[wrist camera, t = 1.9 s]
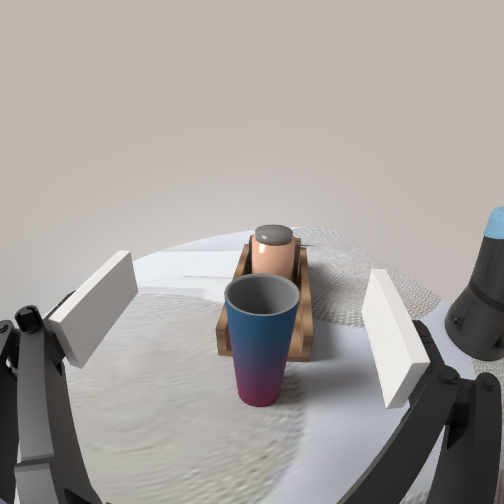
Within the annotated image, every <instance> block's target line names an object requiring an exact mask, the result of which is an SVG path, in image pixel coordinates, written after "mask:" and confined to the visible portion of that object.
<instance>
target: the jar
mask: <svg viewBox="0 0 504 504" xmlns="http://www.w3.org/2000/svg"><path fill="white" fill-rule="evenodd" d="M294 251H295V237H294V236H293V231H292V230H291V229H290V228H288V227H285V226H281V225H264V226H260V227H258V228H257V229H256V230H255V234H254V235H253V237H252V274H254V273H268V274H274V275H278V276H282V277H284V278H286V279H288V280H290V281H291V282H292V275H293V263H294Z"/></svg>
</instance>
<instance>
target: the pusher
mask: <svg viewBox="0 0 504 504" xmlns="http://www.w3.org/2000/svg"><path fill="white" fill-rule="evenodd" d="M299 252H300V242H295V251H294V263H293V275H292V278H297V274H298V263H299ZM249 274H252V240H251V239H250V240H249Z"/></svg>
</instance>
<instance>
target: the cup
mask: <svg viewBox="0 0 504 504" xmlns="http://www.w3.org/2000/svg"><path fill="white" fill-rule="evenodd" d="M224 295H225V303H226V311H227V318H228V326H229V333H230V340H231V347H232V354H233V361H234V368H235V374H236V381H237V387H238V393H239V396H240V398H241V399H242V400H243V401H244V402H245V403H246V404H248V405H251V406H255V407H263V406H267V405H269V404H271V403H273V402H274V401H275V400H276V399H277V397H278V395H279V391H280V387H281V383H282V378H283V374H284V370H285V366H286V361H287V357H288V352H289V348H290V343H291V339H292V334H293V329H294V324H295V320H296V315H297V310H298V305H299V300H300V291H299V289H298V287H297V286H296V285H295V284H294V283H293V282H291V281H290V280H288V279H286V278H284V277H282V276H278V275H274V274H268V273H254V274H248V275H244V276H241V277H238V278H236V279H235V280H233V281H231V282H230V283H229V284H228V285H227V287H226V289H225V292H224Z"/></svg>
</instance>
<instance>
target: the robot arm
mask: <svg viewBox="0 0 504 504" xmlns="http://www.w3.org/2000/svg"><path fill="white" fill-rule="evenodd" d="M137 293H138V289H137V284H136V279H135V274H134V269H133V264H132V258H131V253H130V251H120V250H119V251H118V252H117V253H116V254H115V255H114V256H113V257H112V258H110V259H109V260H108V261H107V262H106V263H105V264H104V265H103V266H102V267H101V268H99V269H98V270H97V271H96V272H95V273H94V274H93V275H92V276H91V277H90V278H89V279H88V280H87V281H86V282H84V283H83V284H82V285H81V286H80V287H79V288H78V289H77V290H75V291H73V292H72V293H70V294H68V295H67V296H66V297H65V298H64V299H63V300H62V302H60V303H59V304H58V306H56V307H55V308H54V309H53V310H52V311H51V312H50V313H49V314H48V315H47V316H46V317H45V318H44V319H43V320H42V318H41V315H40V313H39V311H38V308H37V307H36V306H33V305H30V306H26V307H23V308H21V309H20V310H19V311H18V312H17V313H16V314H15V319H16V321H17V323H18V326H19V328H20V329H15V327H14V325H13V323H12V322H11V321H10V320H4V321H0V504H14V499H15V488H16V485H17V490H18V495H19V500H20V504H102V502H101V500H100V498H99V496H98V495H97V494H96V492H95V491H94V489H93V488H92V486H91V484H90V481H89V478H88V475H87V472H86V469H85V465H84V462H83V459H82V455H81V451H80V448H79V444H78V440H77V436H76V431H75V427H74V422H73V417H72V412H71V407H70V401H69V395H68V389H67V382H66V374H65V366H64V363H63V361H62V360H63V358H64V357H65V356H66V358H67V360H68V361H69V363H70V365H73V366H75V367H78V368H81V369H82V368H83V366H84V365H85V364H86V362H87V361H88V359H89V358H90V356H91V355H92V354H93V352H94V351H95V349H96V348H97V347H98V345H99V344H100V342H101V341H102V340H103V338H104V337H105V335H106V334H107V333H108V331H109V330H110V329H111V327H112V326H113V325H114V323H115V322H116V321H117V319H118V318H119V317H120V315H121V314H122V313H123V311H124V310H125V309H126V307H127V306H128V305H129V303H130V302H131V301H132V300H133V298H134V297H135V296H136V294H137ZM361 313H362V316H363V319H364V323H365V326H366V330H367V333H368V337H369V340H370V344H371V348H372V351H373V355H374V359H375V363H376V367H377V371H378V375H379V379H380V383H381V388H382V392H383V396H384V401H385V406H386V409H390V408H400V407H403V406H404V404H405V403H406V401H407V400H408V399H409V403H410V408H409V409H408V411H407V412H406V413H405V415H404V416H403V418H402V419H401V422H400V423H399V425H398V427H397V428H396V430H395V431H394V433H393V434H392V436H391V437H390V438H389V440H388V441H387V443H386V444H385V446H384V447H383V448H382V450H381V451H380V452H379V454H378V455H377V456H376V458H375V459H374V460H373V462H372V463H371V464H370V466H369V467H368V468H367V469H366V471H365V472H364V473H363V474H362V476H361V477H360V478H359V479H358V480H357V481H356V483H355V484H354V485H353V486H352V487H351V488H350V490H349V491H348V492H347V493H346V494H345V495H344V496H343V497H342V498H341V499H340V500H339V502H338V503H337V504H399V503H400V502H401V500H402V499H403V498H404V496H405V495H406V493H407V492H408V490H409V488H410V487H411V485H412V484H413V482H414V481H415V479H416V477H417V476H418V474H419V472H420V471H421V469H422V467H423V465H424V464H425V462H426V460H427V458H428V456H429V455H430V453H431V451H432V449H433V447H434V445H435V443H436V441H437V439H438V437H439V435H440V433H441V431H442V429H443V426H444V425H446V426H445V432H444V437H443V442H442V447H441V452H440V456H439V460H438V464H437V468H436V472H435V476H434V479H433V483H432V486H431V489H430V492H429V496H428V499H427V501H426V504H493V502H494V497H495V491H496V485H497V479H498V471H499V463H500V452H501V434H502V402H501V386H500V382H499V381H498V379H497V378H496V377H495V376H494V375H493V374H491V373H488V372H483V373H480V374H479V375H478V377H477V378H476V379H475V380H469V379H463V378H460V375H459V373H458V372H457V371H456V370H455V369H453V368H452V367H450V366H447V365H445V363H444V361H443V359H442V357H441V355H440V352H439V350H438V348H437V346H436V344H435V343H434V340H433V338H432V337H431V334H430V332H429V330H428V328H427V327H426V326H425V325H424V324H423V323H422V322H421V321H420V320H411V318H410V316H409V314H408V312H407V310H406V308H405V306H404V304H403V302H402V300H401V298H400V296H399V294H398V292H397V290H396V288H395V287H394V285H393V283H392V281H391V279H390V277H389V275H388V274H387V272H386V270H385V269H372V271H371V275H370V279H369V283H368V287H367V291H366V295H365V299H364V303H363V307H362V310H361ZM445 329H446V332H447V334H448V336H449V337H450V339H451V340H452V341H453V343H454V344H455V345H456V346H457V347H458V348H460V349H461V350H462V351H463V352H465V353H466V354H468V355H470V356H472V357H474V358H477V359H480V360H485V361H493V360H497V359H500V358H501V357H503V356H504V207H497V208H495V209H494V210H493V211H492V212H491V214H490V217H489V220H488V223H487V227H486V230H485V231H484V238H483V242H482V245H481V248H480V252H479V255H478V258H477V261H476V264H475V267H474V270H473V273H472V276H471V279H470V281H469V284H468V286H467V287H466V288H465V290H464V291H463V292H462V293H461V295H460V296H459V297H458V298H457V299H456V301H455V302H454V303H453V304H452V305H451V307H450V309H449V311H448V313H447V316H446V318H445ZM7 359H8V361H9V362H10V366H9V367H8V366H7V365H6V360H7ZM19 442H20V451H21V463H18V464H17V454H18V444H19ZM106 504H111V503H108V502H106Z"/></svg>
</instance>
